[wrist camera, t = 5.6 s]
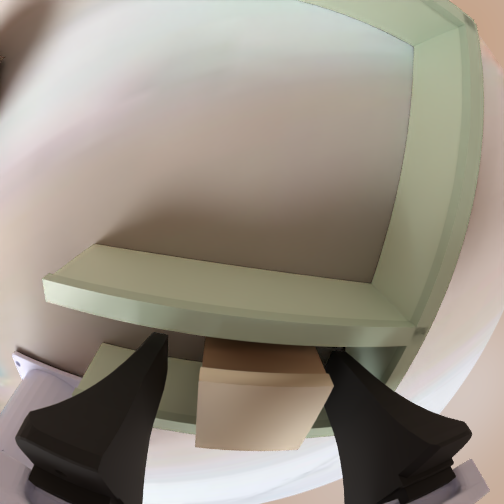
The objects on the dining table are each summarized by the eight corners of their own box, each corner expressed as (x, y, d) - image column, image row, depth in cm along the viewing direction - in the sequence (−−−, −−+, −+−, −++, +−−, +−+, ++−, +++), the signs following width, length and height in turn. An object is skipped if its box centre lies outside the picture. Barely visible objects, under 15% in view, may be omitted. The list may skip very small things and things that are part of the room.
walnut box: (295, 297, 13) (334, 385, 7) (277, 359, 14) (298, 449, 9) (210, 287, 13) (198, 380, 7) (203, 353, 14) (195, 447, 8)
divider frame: (342, 378, 15) (366, 431, 11) (104, 352, 14) (76, 405, 9) (423, 42, 9) (475, 21, 5) (151, -21, 7) (127, -69, 3)
